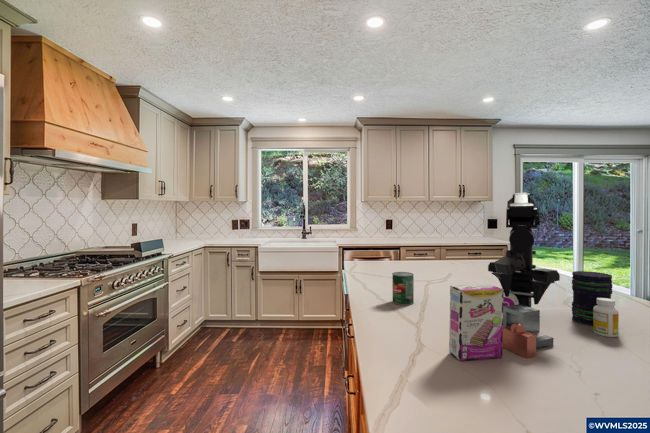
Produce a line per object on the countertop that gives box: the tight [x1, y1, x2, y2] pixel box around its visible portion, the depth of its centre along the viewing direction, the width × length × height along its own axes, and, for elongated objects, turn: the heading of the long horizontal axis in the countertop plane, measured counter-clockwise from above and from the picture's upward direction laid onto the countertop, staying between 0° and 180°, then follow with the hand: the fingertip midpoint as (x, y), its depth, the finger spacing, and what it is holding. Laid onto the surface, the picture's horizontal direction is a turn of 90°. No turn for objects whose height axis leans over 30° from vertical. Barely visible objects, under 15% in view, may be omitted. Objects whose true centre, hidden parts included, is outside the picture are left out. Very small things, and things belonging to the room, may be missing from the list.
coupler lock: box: [503, 304, 541, 333], centre depth 97 cm, size 7×6×6 cm
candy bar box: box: [448, 284, 504, 362], centre depth 78 cm, size 11×5×16 cm, turn 100°
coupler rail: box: [502, 323, 554, 359], centre depth 83 cm, size 13×7×7 cm, turn 112°
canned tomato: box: [391, 271, 415, 306], centre depth 126 cm, size 8×8×11 cm
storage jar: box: [571, 270, 613, 327], centre depth 103 cm, size 10×10×15 cm
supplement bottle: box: [592, 298, 620, 338], centre depth 93 cm, size 5×5×10 cm
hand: (520, 300), depth 97 cm, fingers open, 9 cm apart
